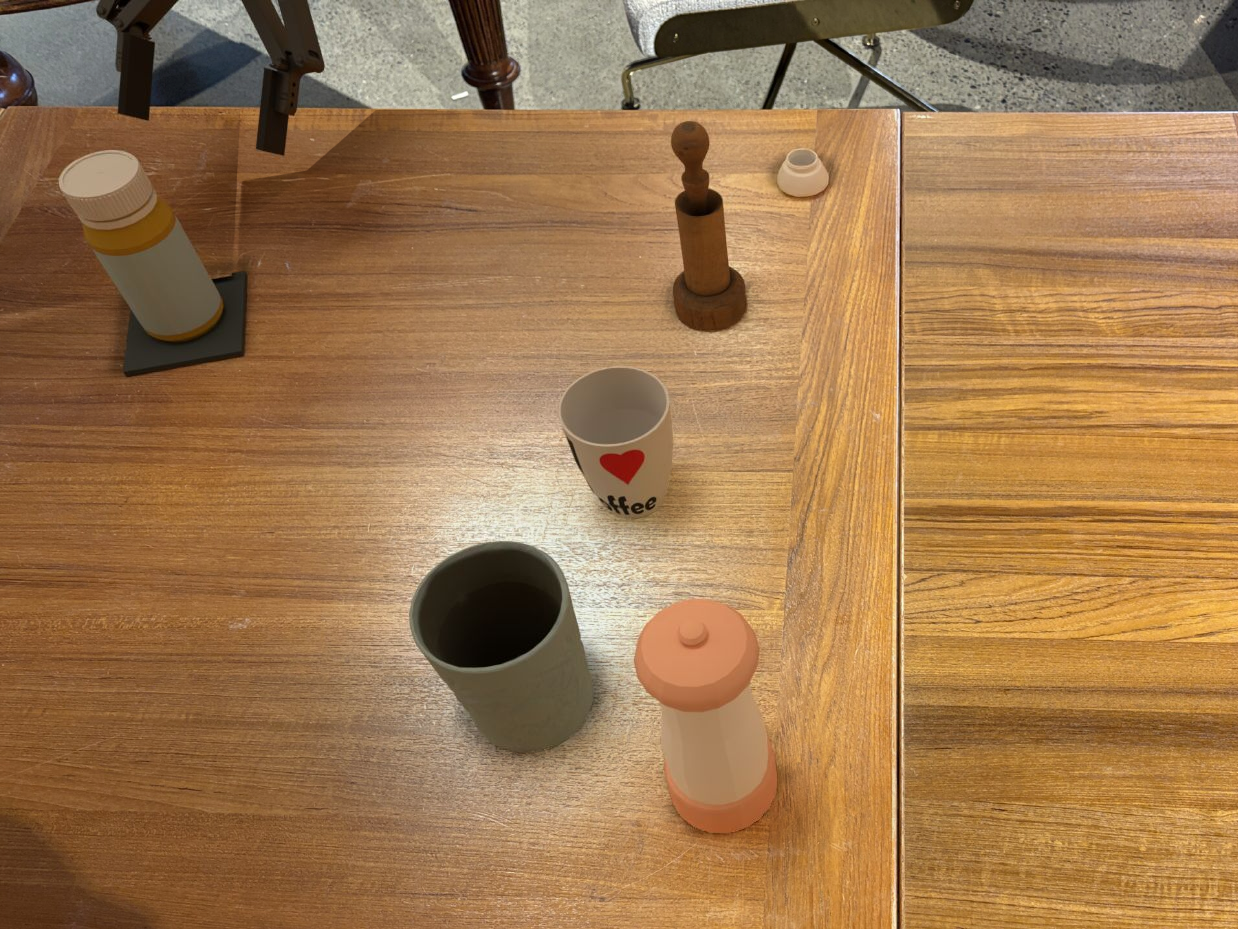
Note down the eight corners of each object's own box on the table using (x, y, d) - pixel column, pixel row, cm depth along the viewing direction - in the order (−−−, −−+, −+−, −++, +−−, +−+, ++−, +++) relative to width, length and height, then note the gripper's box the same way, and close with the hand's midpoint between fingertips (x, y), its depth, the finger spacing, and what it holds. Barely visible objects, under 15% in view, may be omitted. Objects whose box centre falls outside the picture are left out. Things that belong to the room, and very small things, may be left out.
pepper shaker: (686, 729, 83) (646, 564, 67) (788, 747, 82) (771, 584, 66) (657, 823, 79) (606, 672, 63) (763, 843, 78) (739, 695, 63)
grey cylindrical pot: (561, 781, 81) (520, 691, 71) (432, 737, 83) (375, 643, 73) (626, 662, 86) (596, 562, 77) (503, 623, 89) (458, 522, 79)
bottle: (150, 355, 105) (55, 210, 92) (142, 305, 108) (49, 160, 96) (231, 332, 106) (148, 186, 94) (220, 284, 110) (139, 138, 97)
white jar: (768, 192, 117) (815, 205, 115) (767, 166, 114) (814, 179, 113) (791, 163, 119) (837, 176, 118) (790, 137, 117) (836, 149, 115)
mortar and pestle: (761, 312, 107) (746, 132, 92) (699, 342, 105) (673, 162, 90) (722, 272, 110) (701, 91, 95) (661, 300, 108) (630, 120, 93)
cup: (566, 518, 94) (538, 430, 86) (611, 445, 98) (588, 355, 90) (659, 545, 92) (640, 458, 84) (701, 470, 97) (687, 380, 88)
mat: (126, 376, 104) (122, 371, 103) (136, 294, 110) (132, 289, 110) (244, 355, 105) (241, 350, 105) (247, 275, 111) (244, 270, 111)
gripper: (57, -185, 96) (41, 94, 101) (333, -125, 92) (300, 161, 98) (130, -148, 103) (111, 110, 109) (388, -92, 99) (355, 173, 105)
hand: (201, 135), depth 103 cm, fingers open, 13 cm apart
